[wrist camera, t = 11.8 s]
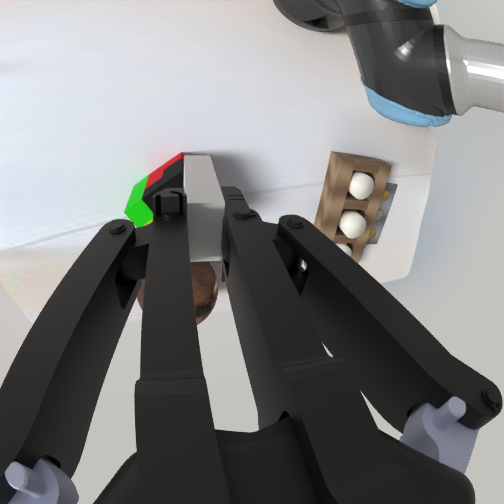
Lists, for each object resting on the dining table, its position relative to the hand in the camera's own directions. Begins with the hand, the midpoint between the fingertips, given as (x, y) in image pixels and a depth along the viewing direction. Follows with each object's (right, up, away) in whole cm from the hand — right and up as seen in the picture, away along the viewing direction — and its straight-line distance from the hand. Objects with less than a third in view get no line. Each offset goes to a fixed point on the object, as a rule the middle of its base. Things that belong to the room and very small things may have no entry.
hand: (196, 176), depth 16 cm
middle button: (+23, +2, +39) cm, 45 cm away
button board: (+26, +4, +42) cm, 49 cm away
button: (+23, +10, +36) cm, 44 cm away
